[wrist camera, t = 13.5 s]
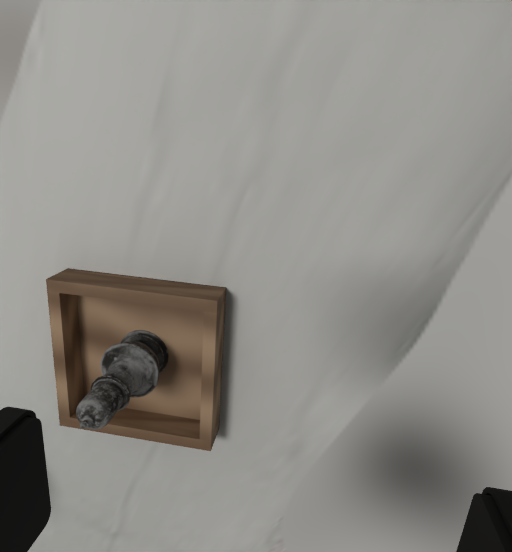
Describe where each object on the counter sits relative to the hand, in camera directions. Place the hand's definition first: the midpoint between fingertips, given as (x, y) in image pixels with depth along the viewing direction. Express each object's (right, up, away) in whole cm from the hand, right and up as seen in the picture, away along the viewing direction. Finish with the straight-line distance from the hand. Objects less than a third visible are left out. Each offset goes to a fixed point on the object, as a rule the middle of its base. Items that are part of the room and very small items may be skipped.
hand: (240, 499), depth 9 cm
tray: (-11, -3, +35) cm, 37 cm away
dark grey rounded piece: (-11, -3, +35) cm, 37 cm away
